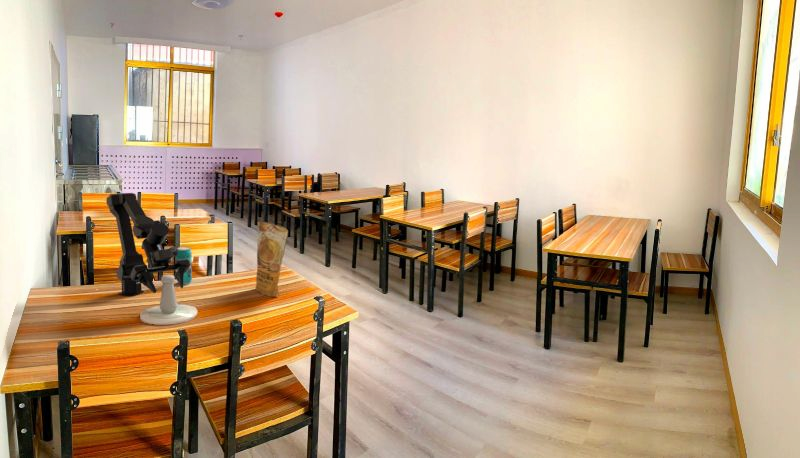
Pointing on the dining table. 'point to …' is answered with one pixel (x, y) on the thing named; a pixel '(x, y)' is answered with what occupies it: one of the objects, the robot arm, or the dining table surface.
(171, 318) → the dish
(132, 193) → the robot arm
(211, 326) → the dining table surface
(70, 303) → the dining table surface
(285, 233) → the pancake mix bag
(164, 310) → the salt shaker
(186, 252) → the beverage can
